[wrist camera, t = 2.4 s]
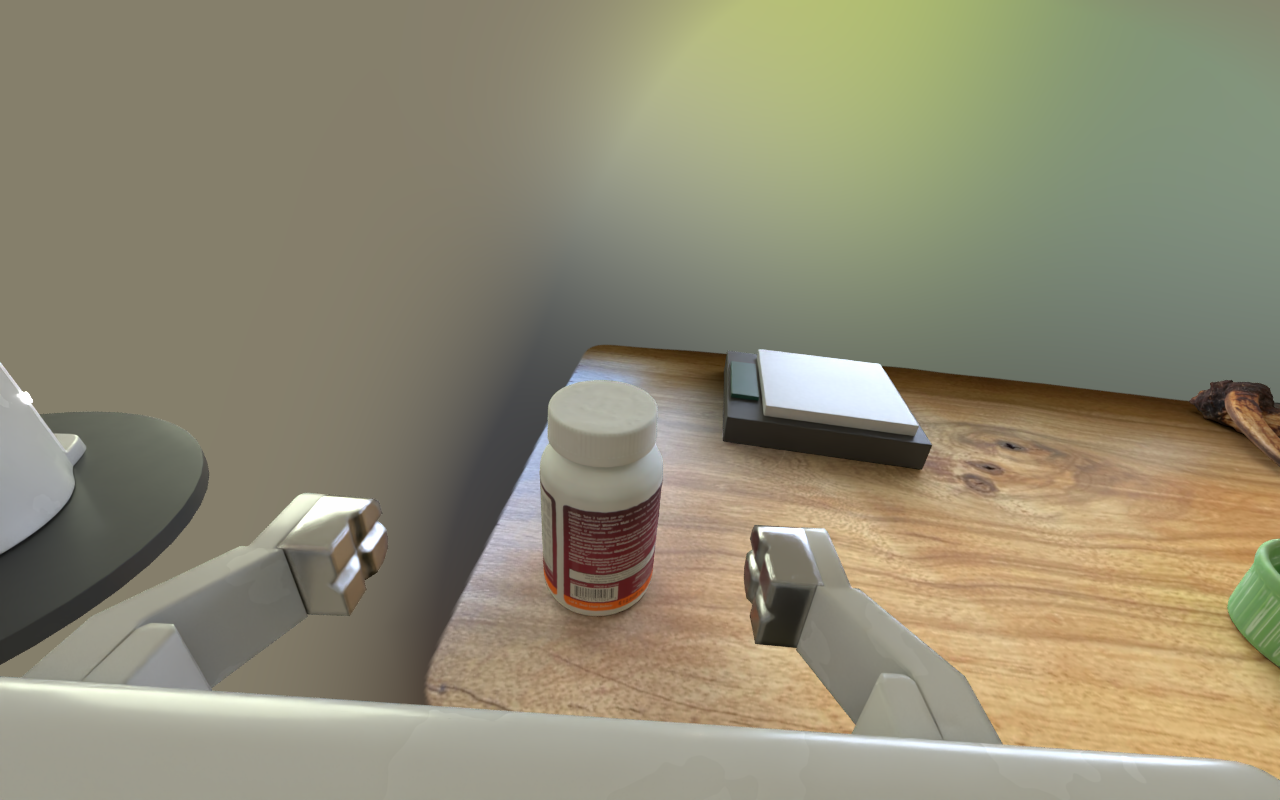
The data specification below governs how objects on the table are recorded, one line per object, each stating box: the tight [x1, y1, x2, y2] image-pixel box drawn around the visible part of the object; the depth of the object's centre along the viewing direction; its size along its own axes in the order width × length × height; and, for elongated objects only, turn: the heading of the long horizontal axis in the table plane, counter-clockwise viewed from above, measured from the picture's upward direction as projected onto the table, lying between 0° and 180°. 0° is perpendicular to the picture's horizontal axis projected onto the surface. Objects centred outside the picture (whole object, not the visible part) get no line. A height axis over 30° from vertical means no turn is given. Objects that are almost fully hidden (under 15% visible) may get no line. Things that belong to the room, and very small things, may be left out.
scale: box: [723, 349, 932, 469], centre depth 47 cm, size 16×14×3 cm
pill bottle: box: [540, 380, 663, 616], centre depth 26 cm, size 6×6×11 cm
